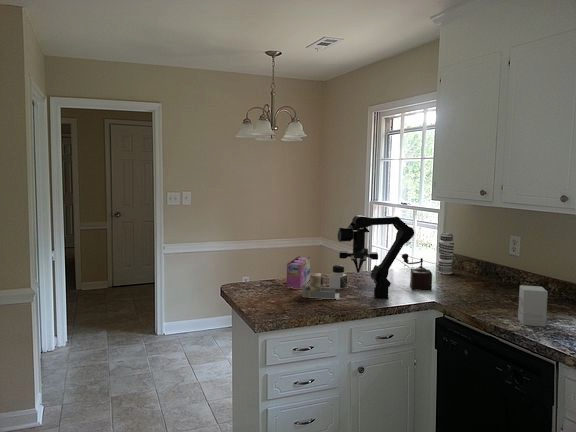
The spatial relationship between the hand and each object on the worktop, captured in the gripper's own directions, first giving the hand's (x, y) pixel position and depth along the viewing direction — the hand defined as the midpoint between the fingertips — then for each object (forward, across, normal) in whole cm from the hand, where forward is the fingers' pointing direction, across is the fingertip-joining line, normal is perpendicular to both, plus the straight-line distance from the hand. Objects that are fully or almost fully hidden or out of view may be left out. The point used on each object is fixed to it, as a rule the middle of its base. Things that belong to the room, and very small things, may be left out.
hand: (358, 272), depth 230 cm
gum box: (+13, -32, +24) cm, 42 cm away
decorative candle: (+13, +56, +69) cm, 90 cm away
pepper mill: (+13, +32, +27) cm, 44 cm away
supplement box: (+13, +72, -26) cm, 78 cm away
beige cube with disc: (+12, -20, 0) cm, 24 cm away
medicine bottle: (+13, -10, +20) cm, 26 cm away
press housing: (+13, -18, 0) cm, 22 cm away
